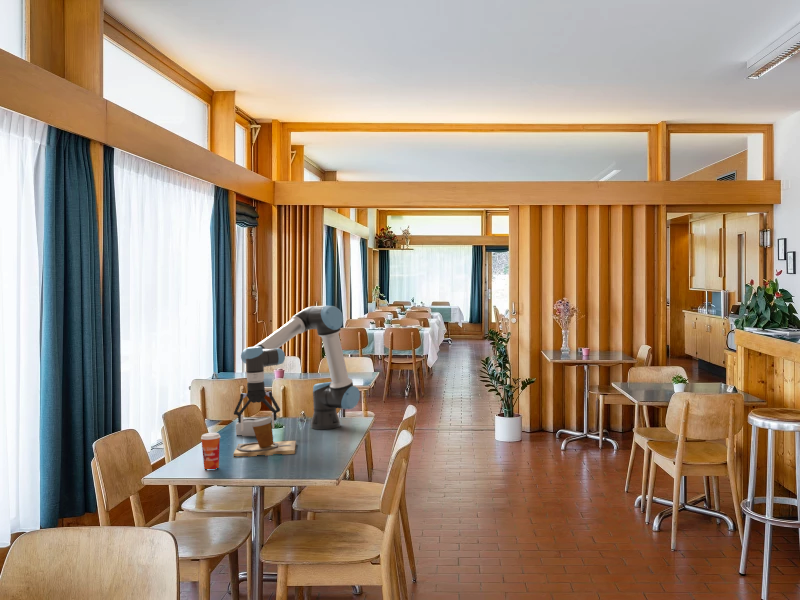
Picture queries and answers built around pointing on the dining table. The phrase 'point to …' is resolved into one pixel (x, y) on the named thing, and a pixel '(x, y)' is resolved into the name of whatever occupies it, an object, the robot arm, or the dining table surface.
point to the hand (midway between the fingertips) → (257, 429)
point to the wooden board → (265, 449)
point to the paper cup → (211, 450)
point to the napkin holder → (245, 427)
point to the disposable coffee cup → (263, 431)
